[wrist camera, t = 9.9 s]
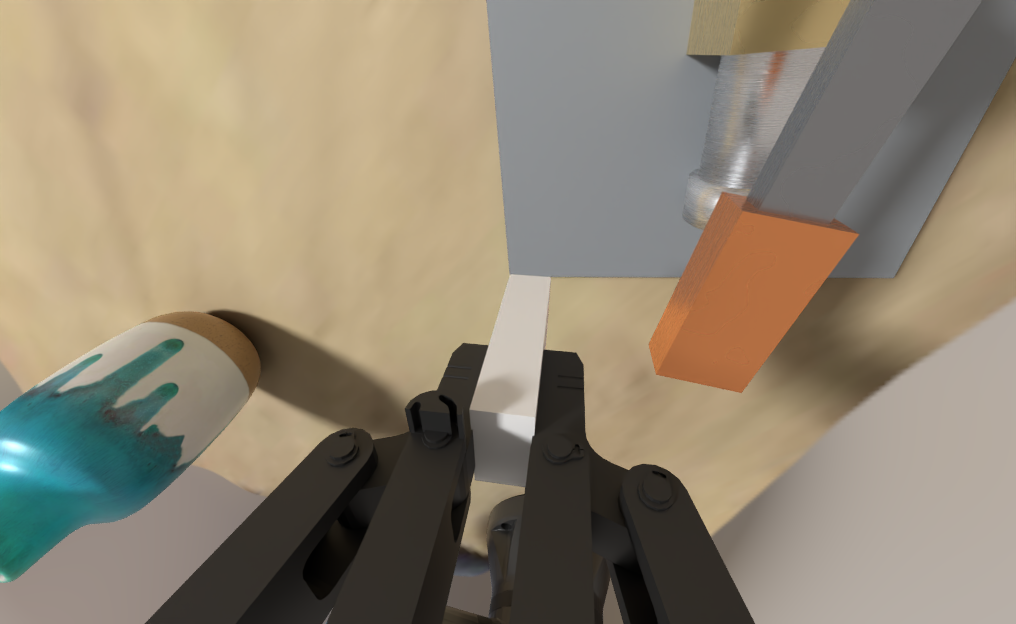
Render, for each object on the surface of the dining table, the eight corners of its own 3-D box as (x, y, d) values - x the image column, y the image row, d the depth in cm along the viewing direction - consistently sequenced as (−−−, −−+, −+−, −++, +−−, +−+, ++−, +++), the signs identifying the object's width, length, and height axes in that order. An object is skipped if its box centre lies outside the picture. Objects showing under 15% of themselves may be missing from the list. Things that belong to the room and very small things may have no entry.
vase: (212, 273, 32) (-146, 491, 16) (304, 363, 36) (95, 600, 20) (149, 316, 36) (-185, 522, 20) (239, 391, 40) (24, 607, 25)
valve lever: (1187, -318, 6) (1369, -428, 5) (730, 361, 16) (746, 394, 14) (969, -348, 7) (1084, -465, 5) (643, 343, 16) (650, 373, 14)
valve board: (871, 262, 23) (893, 278, 21) (513, 262, 27) (509, 276, 25) (1387, -765, 9) (1576, -956, 7) (458, -458, 12) (440, -536, 11)
